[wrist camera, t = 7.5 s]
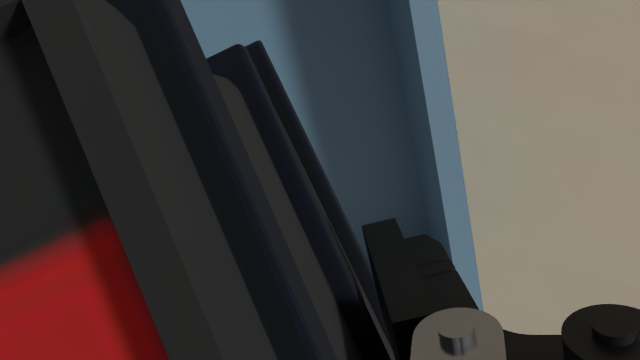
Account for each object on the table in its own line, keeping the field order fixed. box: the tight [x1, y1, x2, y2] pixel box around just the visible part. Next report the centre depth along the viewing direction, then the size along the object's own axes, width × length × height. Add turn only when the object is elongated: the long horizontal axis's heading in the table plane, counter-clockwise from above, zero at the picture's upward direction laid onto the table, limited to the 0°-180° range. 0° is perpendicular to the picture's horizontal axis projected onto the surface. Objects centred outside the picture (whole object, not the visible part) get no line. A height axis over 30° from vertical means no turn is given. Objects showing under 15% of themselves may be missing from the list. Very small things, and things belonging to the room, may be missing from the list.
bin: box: [181, 0, 483, 311], centre depth 25 cm, size 21×14×6 cm, turn 13°
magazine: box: [0, 0, 395, 360], centre depth 11 cm, size 4×13×15 cm, turn 25°
